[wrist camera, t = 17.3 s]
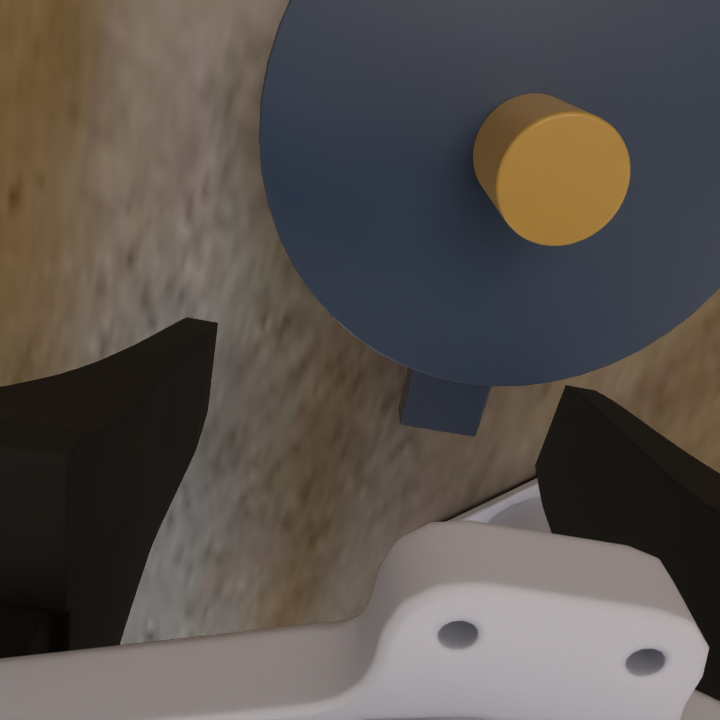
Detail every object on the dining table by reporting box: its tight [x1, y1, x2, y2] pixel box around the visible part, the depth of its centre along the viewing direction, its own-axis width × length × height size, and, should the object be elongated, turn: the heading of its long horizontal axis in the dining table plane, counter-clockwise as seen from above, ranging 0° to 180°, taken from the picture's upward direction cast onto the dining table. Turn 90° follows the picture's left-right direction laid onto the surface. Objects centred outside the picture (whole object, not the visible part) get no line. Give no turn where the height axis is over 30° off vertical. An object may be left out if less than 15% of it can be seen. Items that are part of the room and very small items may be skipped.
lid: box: [259, 0, 720, 386], centre depth 15 cm, size 13×13×4 cm
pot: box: [399, 368, 491, 436], centre depth 19 cm, size 12×17×5 cm
